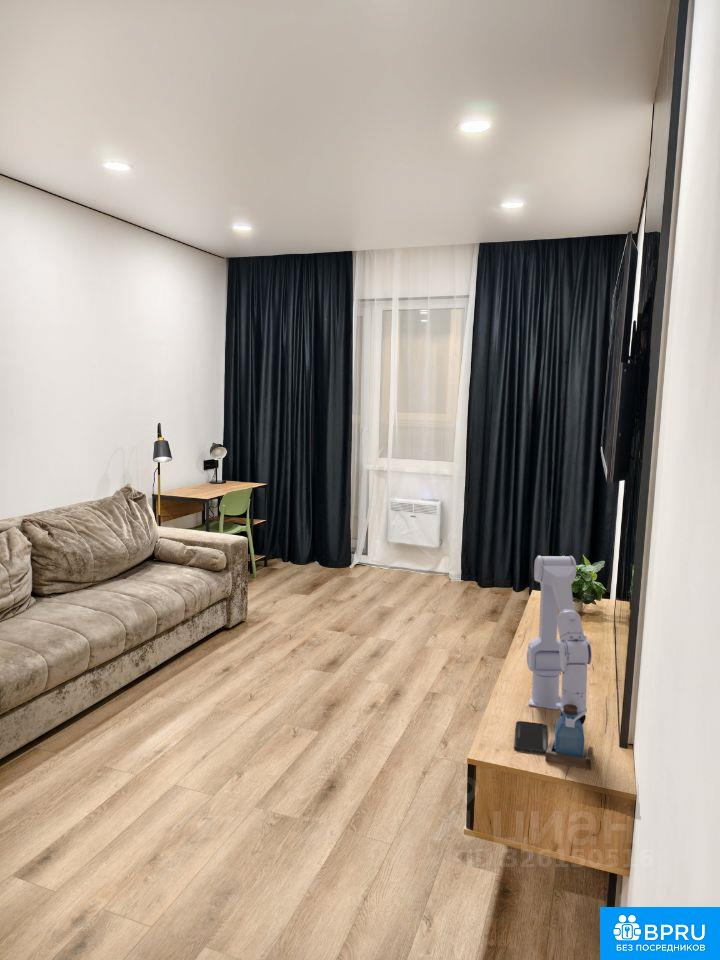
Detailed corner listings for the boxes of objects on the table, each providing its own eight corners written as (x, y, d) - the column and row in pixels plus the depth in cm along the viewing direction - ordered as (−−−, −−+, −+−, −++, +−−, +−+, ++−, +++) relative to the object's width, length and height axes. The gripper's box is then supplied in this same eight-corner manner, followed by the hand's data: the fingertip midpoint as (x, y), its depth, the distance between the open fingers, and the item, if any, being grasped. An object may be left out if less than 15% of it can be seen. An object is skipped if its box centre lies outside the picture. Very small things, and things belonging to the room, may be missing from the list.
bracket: (550, 746, 158) (550, 738, 158) (593, 755, 154) (593, 747, 154) (545, 760, 151) (545, 752, 151) (590, 769, 147) (591, 761, 147)
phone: (547, 724, 168) (547, 751, 154) (547, 728, 169) (547, 756, 154) (515, 720, 171) (513, 747, 156) (515, 724, 171) (513, 751, 156)
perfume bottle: (581, 750, 156) (583, 702, 154) (583, 764, 150) (585, 714, 149) (554, 747, 158) (556, 699, 156) (555, 760, 152) (556, 711, 150)
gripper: (560, 675, 164) (559, 727, 166) (552, 697, 151) (551, 753, 152) (590, 680, 161) (588, 732, 163) (584, 703, 148) (582, 760, 149)
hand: (572, 743), depth 157 cm, fingers closed, pressing on perfume bottle
